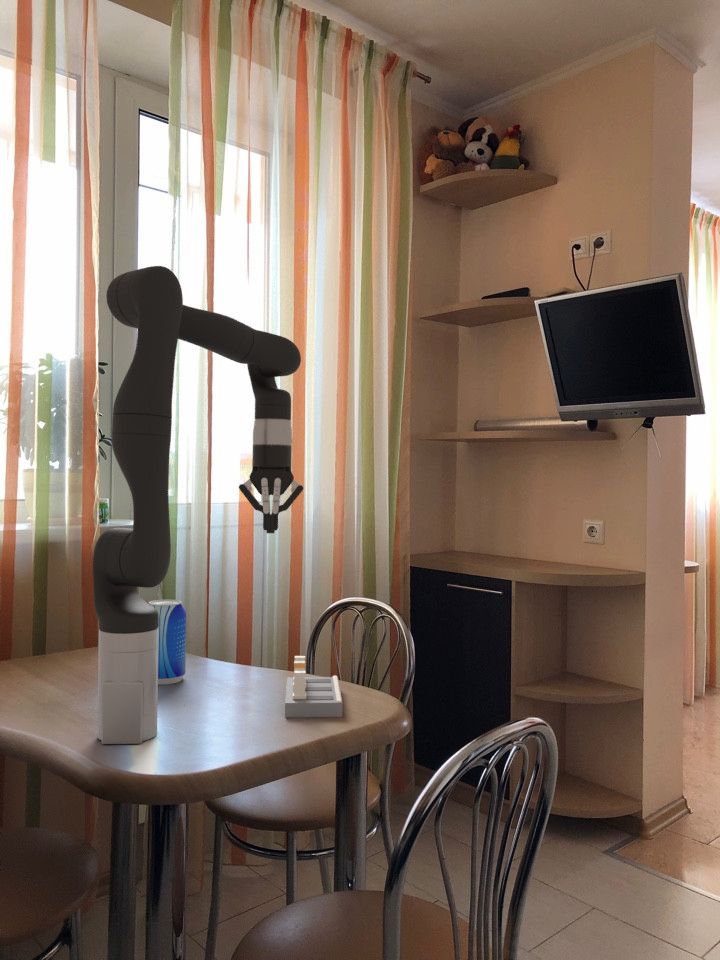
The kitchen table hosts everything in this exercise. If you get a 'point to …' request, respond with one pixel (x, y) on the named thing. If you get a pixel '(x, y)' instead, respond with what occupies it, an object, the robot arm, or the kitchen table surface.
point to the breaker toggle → (299, 667)
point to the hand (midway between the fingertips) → (270, 533)
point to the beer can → (171, 640)
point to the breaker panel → (312, 695)
